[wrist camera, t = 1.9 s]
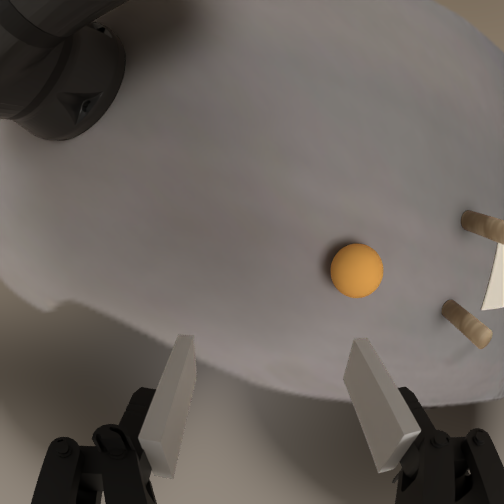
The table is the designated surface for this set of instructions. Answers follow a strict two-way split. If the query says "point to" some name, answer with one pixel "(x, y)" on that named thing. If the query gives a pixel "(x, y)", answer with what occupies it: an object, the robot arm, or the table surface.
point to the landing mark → (496, 282)
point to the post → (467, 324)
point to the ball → (356, 270)
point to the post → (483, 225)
